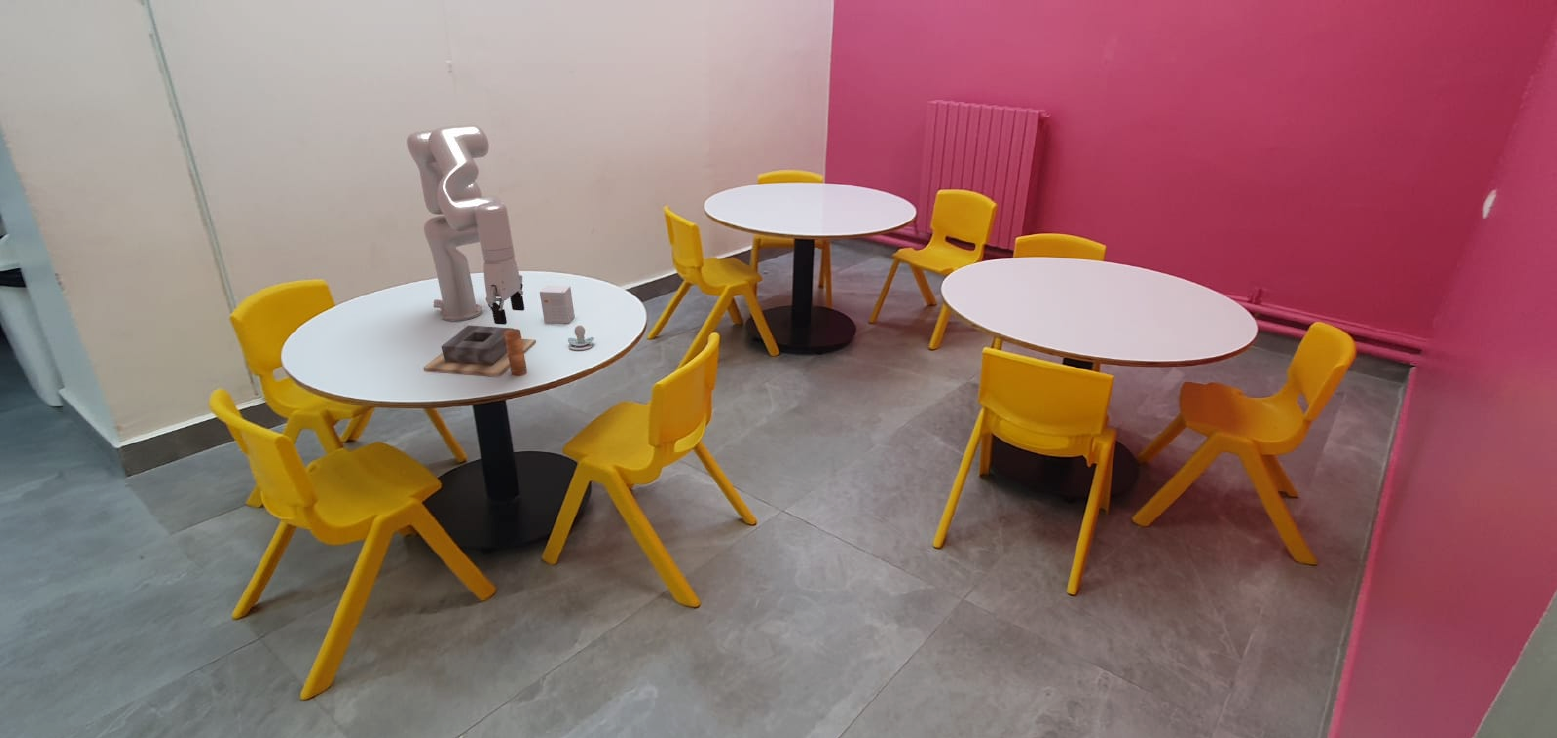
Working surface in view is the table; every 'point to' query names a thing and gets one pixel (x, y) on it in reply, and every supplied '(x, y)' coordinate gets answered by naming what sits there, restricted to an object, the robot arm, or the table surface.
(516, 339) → the peg
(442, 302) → the robot arm
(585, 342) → the pacifier
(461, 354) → the socket
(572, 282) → the table surface
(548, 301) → the small box
